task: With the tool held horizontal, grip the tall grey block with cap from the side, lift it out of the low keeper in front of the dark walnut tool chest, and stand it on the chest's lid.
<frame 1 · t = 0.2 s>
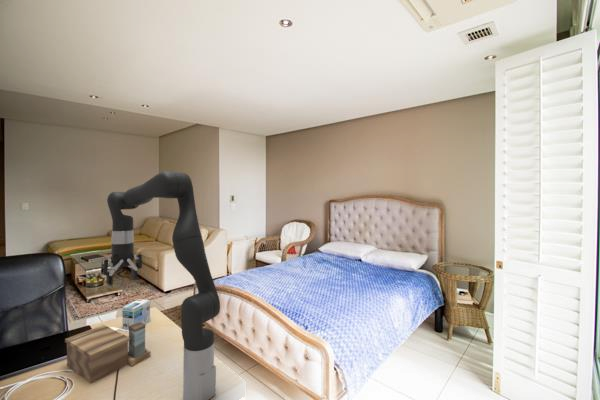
hand: (122, 282, 110), 29 cm above the table, tool pointing down, fingers open, 8 cm apart
light bulb box: (136, 325, 134), on the table
photo frame: (111, 340, 121), on the table
grey block with cap: (136, 358, 108), resting in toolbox
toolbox: (97, 365, 103), on the table
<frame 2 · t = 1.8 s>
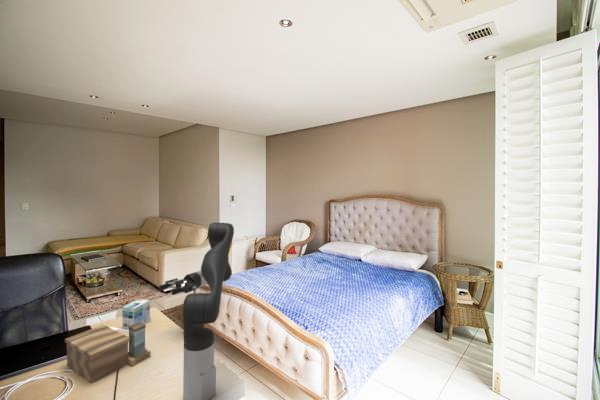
hand: (165, 290, 118), 23 cm above the table, tool horizontal, fingers open, 8 cm apart
nothing on the table moved.
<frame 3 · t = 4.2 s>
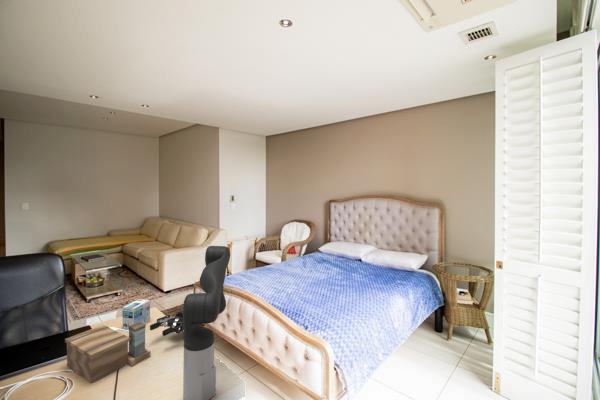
hand: (156, 330, 115), 7 cm above the table, tool horizontal, fingers open, 8 cm apart
nothing on the table moved.
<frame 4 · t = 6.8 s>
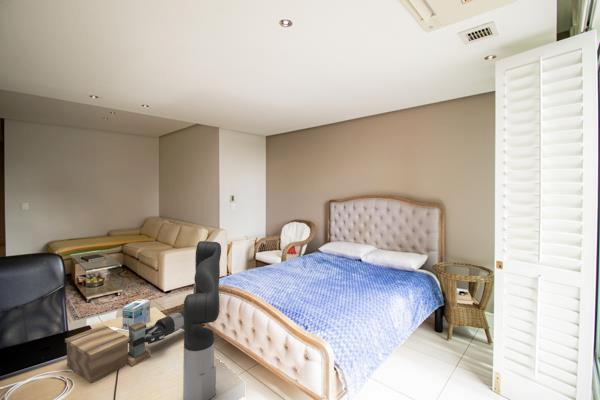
hand: (129, 342, 106), 8 cm above the table, tool horizontal, fingers closed on grey block with cap, 4 cm apart
grey block with cap: (136, 358, 108), resting in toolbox, touching gripper
everything else where it was.
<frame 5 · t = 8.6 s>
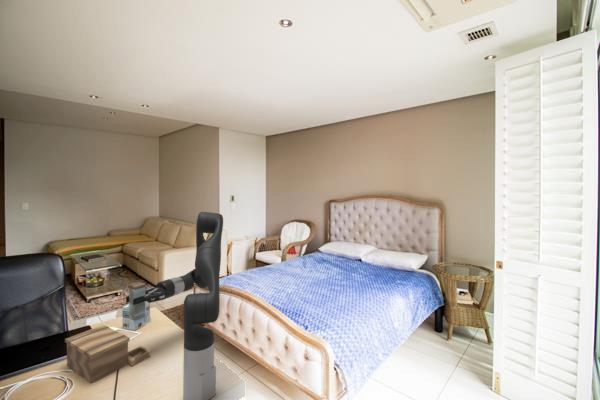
hand: (130, 300, 105), 24 cm above the table, tool horizontal, fingers closed on grey block with cap, 4 cm apart
grey block with cap: (137, 317, 108), point 16 cm above the table, touching gripper
everything else where it was.
when the fingers open (19 cm above the table, at t = 10.8 s): grey block with cap drops 1 cm, resting on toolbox.
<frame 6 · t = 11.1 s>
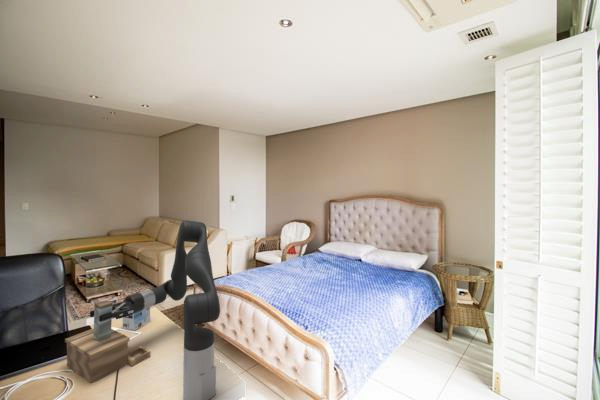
hand: (94, 316, 101), 19 cm above the table, tool horizontal, fingers open, 6 cm apart
grey block with cap: (102, 337, 103), point 10 cm above the table, touching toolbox
everything else where it was.
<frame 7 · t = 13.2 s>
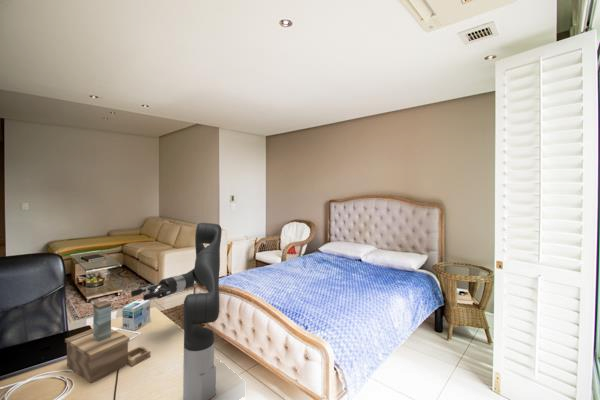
hand: (137, 295, 114), 22 cm above the table, tool horizontal, fingers open, 8 cm apart
nothing on the table moved.
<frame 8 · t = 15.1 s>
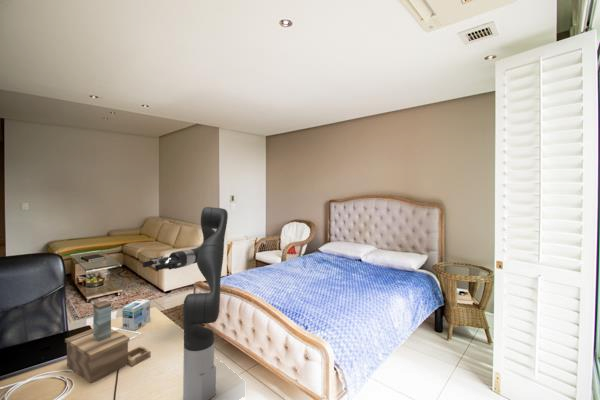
hand: (149, 266, 115), 34 cm above the table, tool horizontal, fingers open, 8 cm apart
nothing on the table moved.
at the end: grey block with cap inside the target area (1.4 cm from its centre), point 10.2 cm above the table; grey block with cap tilted 0°; the gripper is holding nothing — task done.
